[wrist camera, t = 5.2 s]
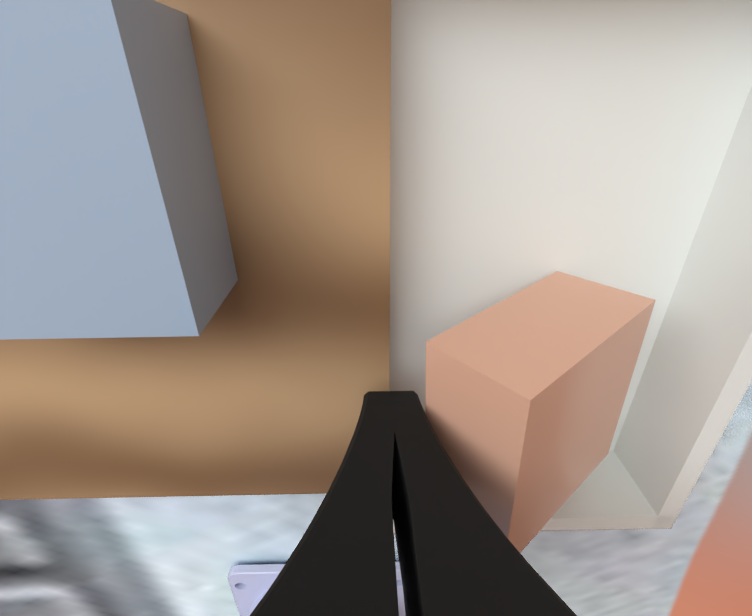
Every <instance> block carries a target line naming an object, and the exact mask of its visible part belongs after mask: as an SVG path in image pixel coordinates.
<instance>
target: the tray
mask: <svg viewBox="0 0 752 616" xmlns="http://www.w3.org/2000/svg"><path fill="white" fill-rule="evenodd" d="M556 271H559V272H562V273H566V274H569V275H573V276H576V277H579V278H583V279H586V280H590V281H593V282H596V283H600V284H603V285H607V286H610V287H613V288H617V289H620V290H624V291H627V292H630V293H634V294H637V295H641V296H644V297H648V298H651V299H654V300H656V301H655V304H654V307H653V311H652V314H651V317H650V320H649V324H648V327H647V330H646V333H645V336H644V340H643V343H642V346H641V349H640V353H639V356H638V359H637V362H636V366H635V369H634V372H633V375H632V378H631V382H630V385H629V388H628V391H627V395H626V398H625V401H624V404H623V407H622V411H621V414H620V417H619V420H618V424H617V427H616V430H615V433H614V437H613V440H612V443H611V446H610V449H609V453H608V454H607V456H606V457H605V458H604V459H603V460H602V461H601V462H600V463H599V465H598V466H597V467H596V468H595V469H594V470H593V471H592V472H591V474H590V475H589V476H588V477H587V478H586V479H585V480H584V481H583V483H582V484H581V485H580V486H579V487H578V488H577V489H576V490H575V492H574V493H573V494H572V495H571V496H570V497H569V498H568V499H567V501H566V502H565V503H564V504H563V505H562V506H561V507H560V508H559V510H558V511H557V512H556V513H555V514H554V515H553V516H552V517H551V519H550V520H549V521H548V522H547V523H546V524H545V525H544V526H543V528H542V529H541V530H540V531H566V530H616V529H667V528H672V526H673V524H674V522H675V520H676V518H677V517H678V515H679V513H680V511H681V509H682V507H683V506H684V504H685V502H686V500H687V498H688V496H689V495H690V493H691V491H692V489H693V487H694V485H695V484H696V482H697V480H698V478H699V476H700V474H701V473H702V471H703V469H704V467H705V465H706V463H707V462H708V460H709V458H710V456H711V454H712V452H713V451H714V449H715V447H716V445H717V443H718V441H719V440H720V438H721V436H722V434H723V432H724V430H725V429H726V427H727V425H728V423H729V421H730V419H731V418H732V416H733V414H734V412H735V410H736V408H737V407H738V405H739V403H740V401H741V399H742V397H743V396H744V394H745V392H746V390H747V388H748V386H749V385H750V383H751V381H752V0H391V114H390V350H389V391H414V392H415V393H417V394H418V397H419V400H420V402H421V405H422V407H423V409H424V411H425V414H426V341H428V340H430V339H432V338H433V337H435V336H437V335H439V334H441V333H443V332H445V331H446V330H448V329H450V328H452V327H454V326H456V325H458V324H459V323H461V322H463V321H465V320H467V319H469V318H471V317H473V316H474V315H476V314H478V313H480V312H482V311H484V310H486V309H487V308H489V307H491V306H493V305H495V304H497V303H499V302H500V301H502V300H504V299H506V298H508V297H510V296H512V295H513V294H515V293H517V292H519V291H521V290H523V289H525V288H526V287H528V286H530V285H532V284H534V283H536V282H538V281H539V280H541V279H543V278H545V277H547V276H549V275H551V274H552V273H554V272H556ZM393 534H395V526H394V519H393Z"/></svg>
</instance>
